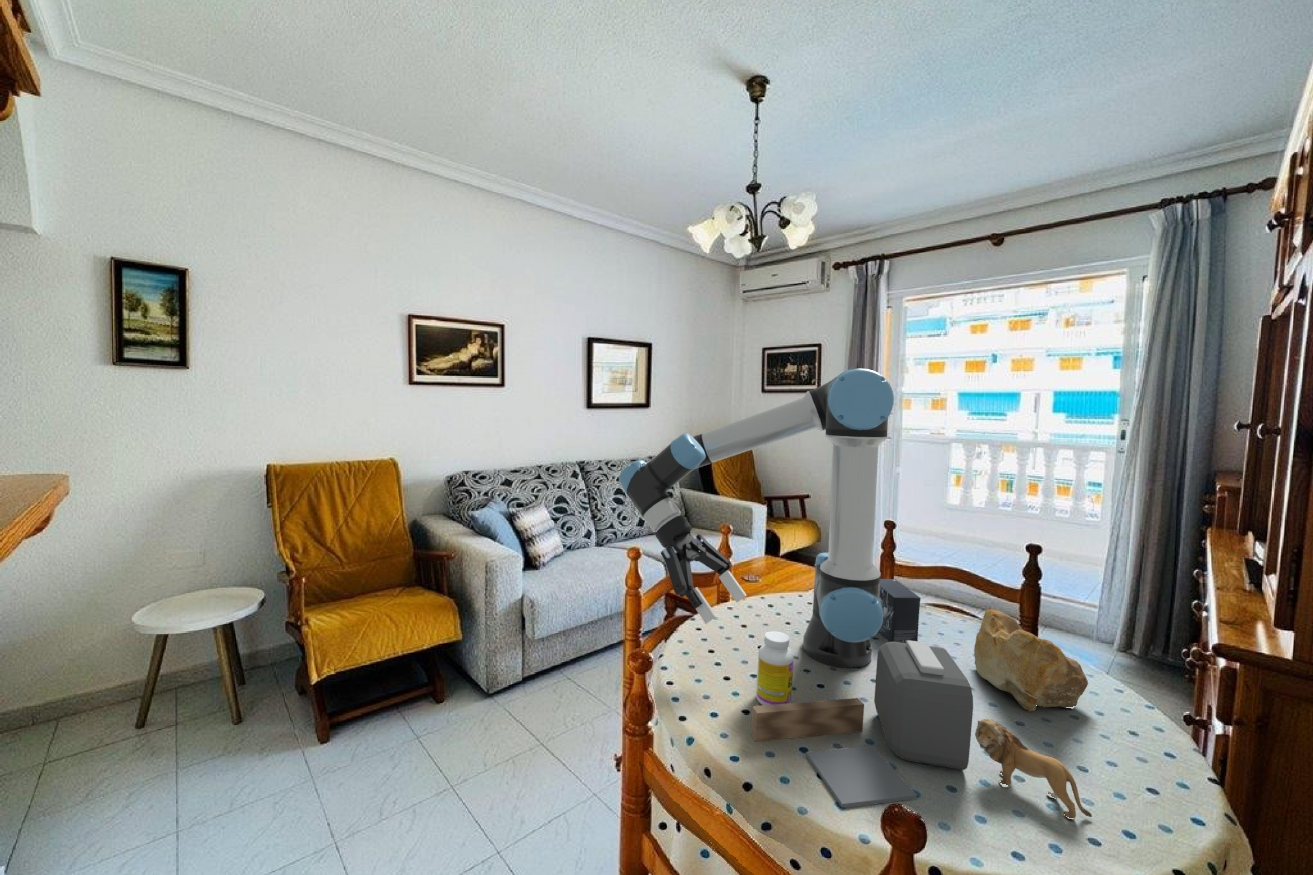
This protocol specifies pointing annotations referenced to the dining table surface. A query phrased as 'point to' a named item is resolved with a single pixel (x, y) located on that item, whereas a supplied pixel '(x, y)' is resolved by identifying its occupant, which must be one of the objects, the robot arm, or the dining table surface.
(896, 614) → the small box
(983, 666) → the rough brown rock
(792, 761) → the dining table surface
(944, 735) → the alarm clock
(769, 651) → the supplement bottle
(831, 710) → the walnut rail
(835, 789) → the rubber mat
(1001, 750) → the lion figurine
